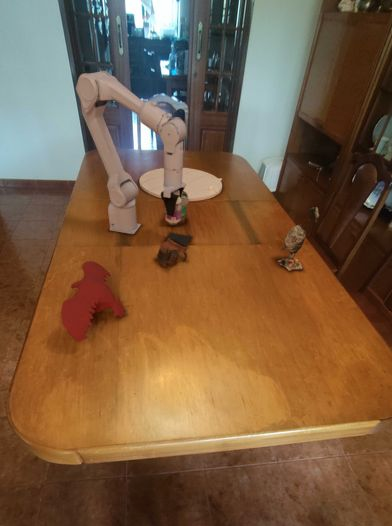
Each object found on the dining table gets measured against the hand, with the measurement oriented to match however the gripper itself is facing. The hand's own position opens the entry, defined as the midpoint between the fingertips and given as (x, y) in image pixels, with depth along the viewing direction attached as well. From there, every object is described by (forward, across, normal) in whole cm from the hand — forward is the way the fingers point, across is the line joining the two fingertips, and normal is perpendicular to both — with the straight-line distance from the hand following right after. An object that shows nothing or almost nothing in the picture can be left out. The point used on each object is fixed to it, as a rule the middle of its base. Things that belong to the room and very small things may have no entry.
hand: (172, 211), depth 107 cm
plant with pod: (+11, -2, -42) cm, 43 cm away
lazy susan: (+10, +53, +10) cm, 55 cm away
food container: (+10, +15, +1) cm, 18 cm away
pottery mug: (+10, -14, -4) cm, 18 cm away
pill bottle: (+3, 0, 0) cm, 3 cm away
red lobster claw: (+10, -45, +7) cm, 46 cm away
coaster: (+10, 0, -2) cm, 10 cm away
